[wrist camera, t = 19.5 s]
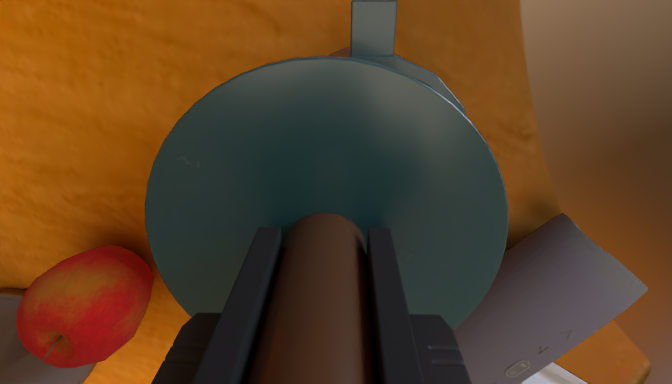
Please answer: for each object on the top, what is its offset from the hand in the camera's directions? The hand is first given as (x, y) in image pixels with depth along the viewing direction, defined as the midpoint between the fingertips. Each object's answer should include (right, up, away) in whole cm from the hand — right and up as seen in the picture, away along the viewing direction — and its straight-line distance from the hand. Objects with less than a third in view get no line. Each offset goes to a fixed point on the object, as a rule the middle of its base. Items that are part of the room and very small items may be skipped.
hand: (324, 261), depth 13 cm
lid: (0, +1, +1) cm, 1 cm away
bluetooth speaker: (+16, -8, +26) cm, 32 cm away
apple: (-21, -5, +26) cm, 34 cm away
